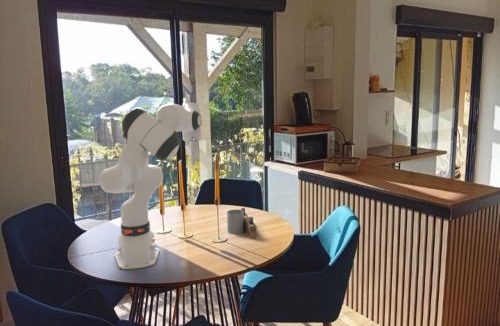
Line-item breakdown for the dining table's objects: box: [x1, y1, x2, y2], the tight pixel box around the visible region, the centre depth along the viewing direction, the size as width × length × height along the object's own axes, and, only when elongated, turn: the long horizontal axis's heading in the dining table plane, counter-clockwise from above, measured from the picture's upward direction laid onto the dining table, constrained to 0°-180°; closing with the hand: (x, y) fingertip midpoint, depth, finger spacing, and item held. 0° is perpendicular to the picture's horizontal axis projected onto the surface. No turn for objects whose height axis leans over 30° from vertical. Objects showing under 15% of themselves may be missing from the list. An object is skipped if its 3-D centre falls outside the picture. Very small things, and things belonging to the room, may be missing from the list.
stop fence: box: [240, 207, 257, 239], centre depth 200 cm, size 24×3×9 cm, turn 15°
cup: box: [226, 208, 245, 235], centre depth 199 cm, size 8×8×10 cm
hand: (193, 164), depth 194 cm, fingers closed
